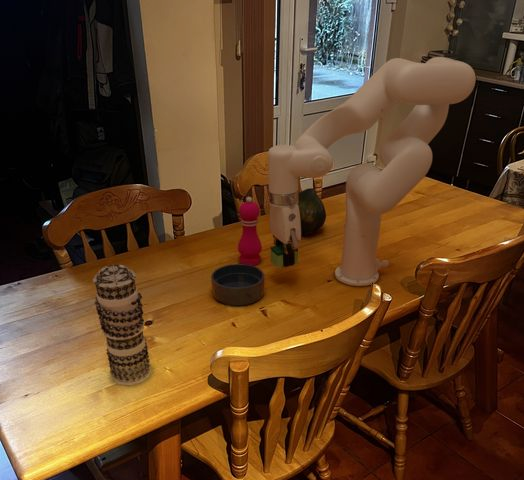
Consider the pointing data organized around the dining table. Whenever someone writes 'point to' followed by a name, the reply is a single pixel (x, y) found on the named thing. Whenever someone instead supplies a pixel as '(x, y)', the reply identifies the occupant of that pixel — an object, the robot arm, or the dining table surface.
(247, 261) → the pepper mill
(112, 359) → the decorative candle
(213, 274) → the bowl
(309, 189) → the squash
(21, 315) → the dining table surface
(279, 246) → the sponge
